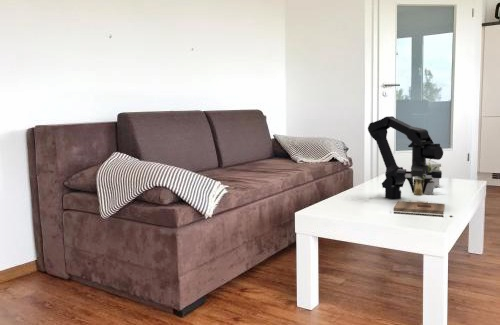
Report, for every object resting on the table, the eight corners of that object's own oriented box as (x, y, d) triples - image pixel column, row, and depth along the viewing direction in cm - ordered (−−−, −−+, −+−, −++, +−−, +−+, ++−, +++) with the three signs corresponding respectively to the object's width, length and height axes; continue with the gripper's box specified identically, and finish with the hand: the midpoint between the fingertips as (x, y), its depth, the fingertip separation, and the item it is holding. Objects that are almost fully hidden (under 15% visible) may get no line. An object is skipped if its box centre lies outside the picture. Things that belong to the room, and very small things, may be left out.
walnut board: (393, 213, 190) (393, 207, 190) (400, 202, 211) (400, 196, 211) (443, 217, 183) (443, 210, 182) (445, 205, 203) (445, 199, 203)
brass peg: (413, 195, 202) (413, 179, 201) (413, 193, 206) (414, 178, 205) (422, 195, 200) (423, 180, 200) (423, 194, 204) (423, 178, 203)
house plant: (449, 196, 221) (450, 163, 219) (420, 197, 221) (421, 164, 219) (437, 191, 235) (437, 159, 233) (410, 192, 235) (410, 160, 233)
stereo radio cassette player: (413, 181, 266) (414, 147, 264) (427, 181, 266) (428, 147, 263) (425, 188, 245) (426, 151, 243) (441, 187, 245) (442, 150, 243)
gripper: (394, 159, 198) (394, 195, 200) (441, 160, 190) (440, 197, 192) (397, 156, 208) (397, 190, 210) (442, 157, 200) (441, 192, 202)
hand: (418, 192), depth 203 cm, fingers closed on brass peg, 4 cm apart
